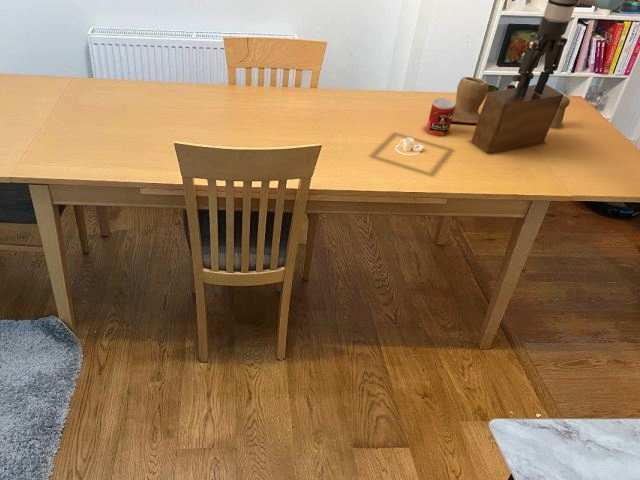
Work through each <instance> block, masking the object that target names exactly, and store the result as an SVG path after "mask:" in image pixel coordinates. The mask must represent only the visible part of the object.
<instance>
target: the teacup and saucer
mask: <svg viewBox="0 0 640 480" xmlns="http://www.w3.org/2000/svg"><path fill="white" fill-rule="evenodd" d="M402 141H403V143H402ZM414 143H415V139H414V138H413V137H405V138H404V139H400V142H399V144H396V146H394V148H395V151H396V152H397V153H399V154H402V155H405V156H415V155H417V154H420V153H421V152H423V151H424V146H423V145H422V144H414ZM400 146H401V148H402V149H403V151H405V152H410V151H411V150H412V151H413V152H415V153H404V152H401V151H400V150H398V147H400Z"/></svg>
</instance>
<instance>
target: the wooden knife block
mask: <svg viewBox="0 0 640 480" xmlns="http://www.w3.org/2000/svg"><path fill="white" fill-rule="evenodd" d="M530 77H532V78H531V80H533V79H534V78H535V74H534V73H533V72H532V73H531V75H530ZM521 78H522V75H521V74H514V75H513V76H512V82H514V83H516V82H518V83H517V85H516V88H512V89H501V90H494V91H488V92H487V95H486V97H485V99H484V101H483V104H482V108H481V111H480V113H479V114H480V117H479V120H478V123H476V125H475V129H474V132H473V135H472V137H471V140H470V143H471V144H473V145H474V146H476V147H477V148H478V149H480V150H481V151H483V152H485V153H486V154H487V155H491V154H496V153H500V152H505V151H510V150H515V149H519V148H525V147H530V146H535V145H540V144H543V143H544V142H545V140H546V137H547V135H548V133H549V131H550V129H551V128H550V126H551V124H552V121H553V119H554V117H555V114H556V112H557V110H558V107H559V105H560V103H561V100H562V98H563V96H565V94H563V93H562V92H561V91H558V90H557V89H555V88H553V87H552V86H550V85H548V84H546V85H545V87H544V90H543V93H542V95H540V94H538V93H536V92H534V90H535V88H536V85H537V84H532V85H529V86H528V89H527V92H526V95H525V97H524V98H522V97H520V96H519V95H517V93H518V90H519V87H520V85H519V84H520V81H521Z"/></svg>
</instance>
